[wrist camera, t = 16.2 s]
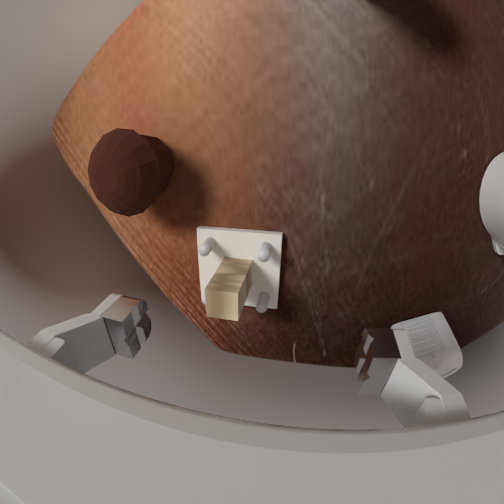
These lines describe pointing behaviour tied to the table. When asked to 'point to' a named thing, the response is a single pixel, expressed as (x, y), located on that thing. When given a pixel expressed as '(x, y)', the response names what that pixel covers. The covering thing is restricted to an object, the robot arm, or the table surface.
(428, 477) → the robot arm
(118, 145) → the muffin
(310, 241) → the table surface
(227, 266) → the block
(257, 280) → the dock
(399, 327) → the photo printer
